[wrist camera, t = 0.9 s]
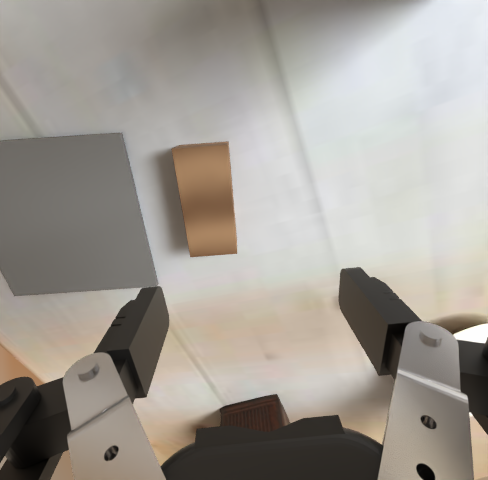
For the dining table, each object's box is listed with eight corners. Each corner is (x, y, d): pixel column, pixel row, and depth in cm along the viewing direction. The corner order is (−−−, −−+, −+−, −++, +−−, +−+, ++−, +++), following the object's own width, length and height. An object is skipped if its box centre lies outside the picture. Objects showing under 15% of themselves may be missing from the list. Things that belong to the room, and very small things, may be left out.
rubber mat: (-60, 144, 26) (-66, 145, 25) (122, 132, 26) (119, 132, 25) (18, 293, 33) (14, 296, 33) (158, 283, 33) (156, 286, 33)
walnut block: (180, 144, 27) (171, 148, 23) (228, 141, 27) (227, 144, 23) (195, 241, 31) (190, 257, 28) (236, 238, 31) (237, 253, 28)
